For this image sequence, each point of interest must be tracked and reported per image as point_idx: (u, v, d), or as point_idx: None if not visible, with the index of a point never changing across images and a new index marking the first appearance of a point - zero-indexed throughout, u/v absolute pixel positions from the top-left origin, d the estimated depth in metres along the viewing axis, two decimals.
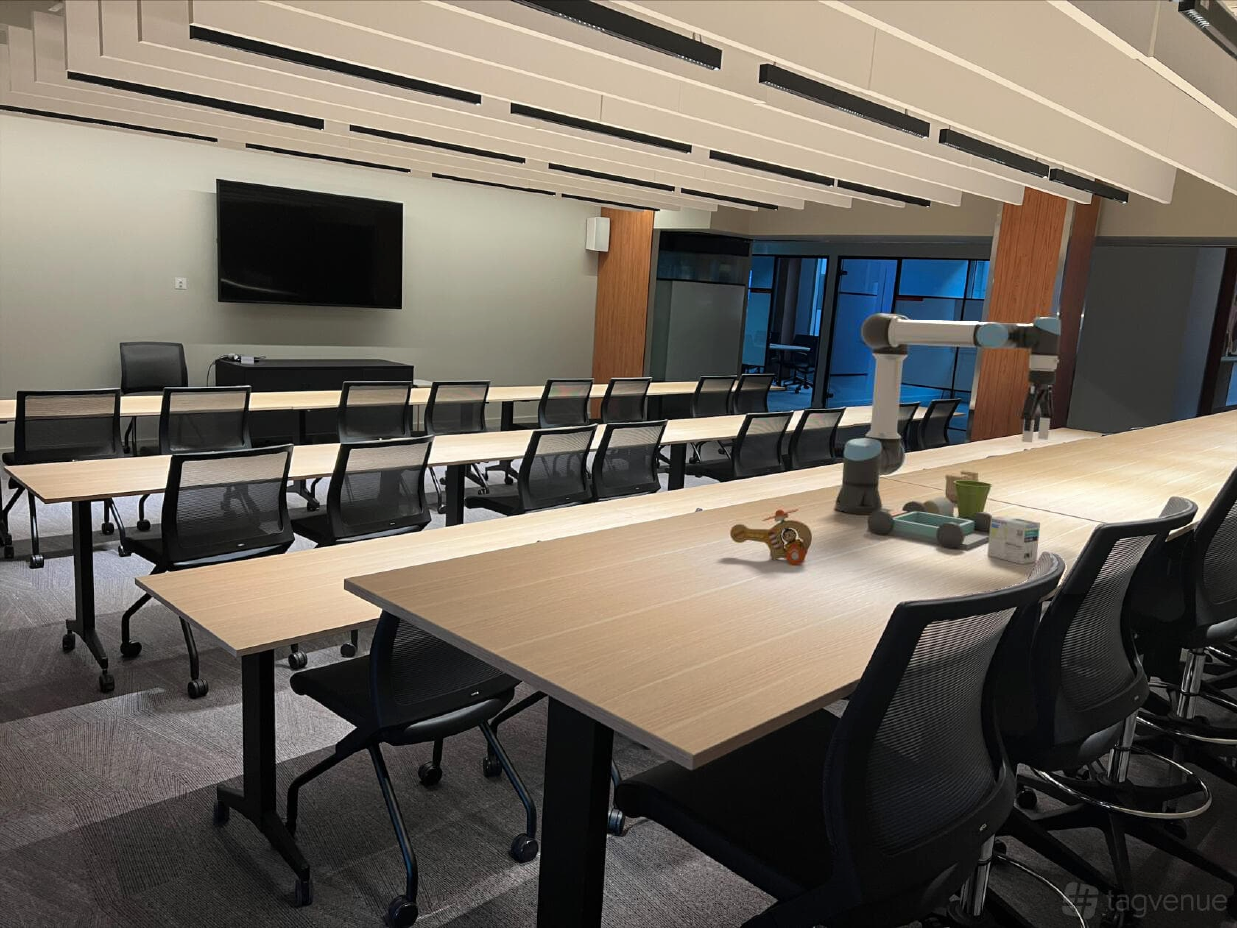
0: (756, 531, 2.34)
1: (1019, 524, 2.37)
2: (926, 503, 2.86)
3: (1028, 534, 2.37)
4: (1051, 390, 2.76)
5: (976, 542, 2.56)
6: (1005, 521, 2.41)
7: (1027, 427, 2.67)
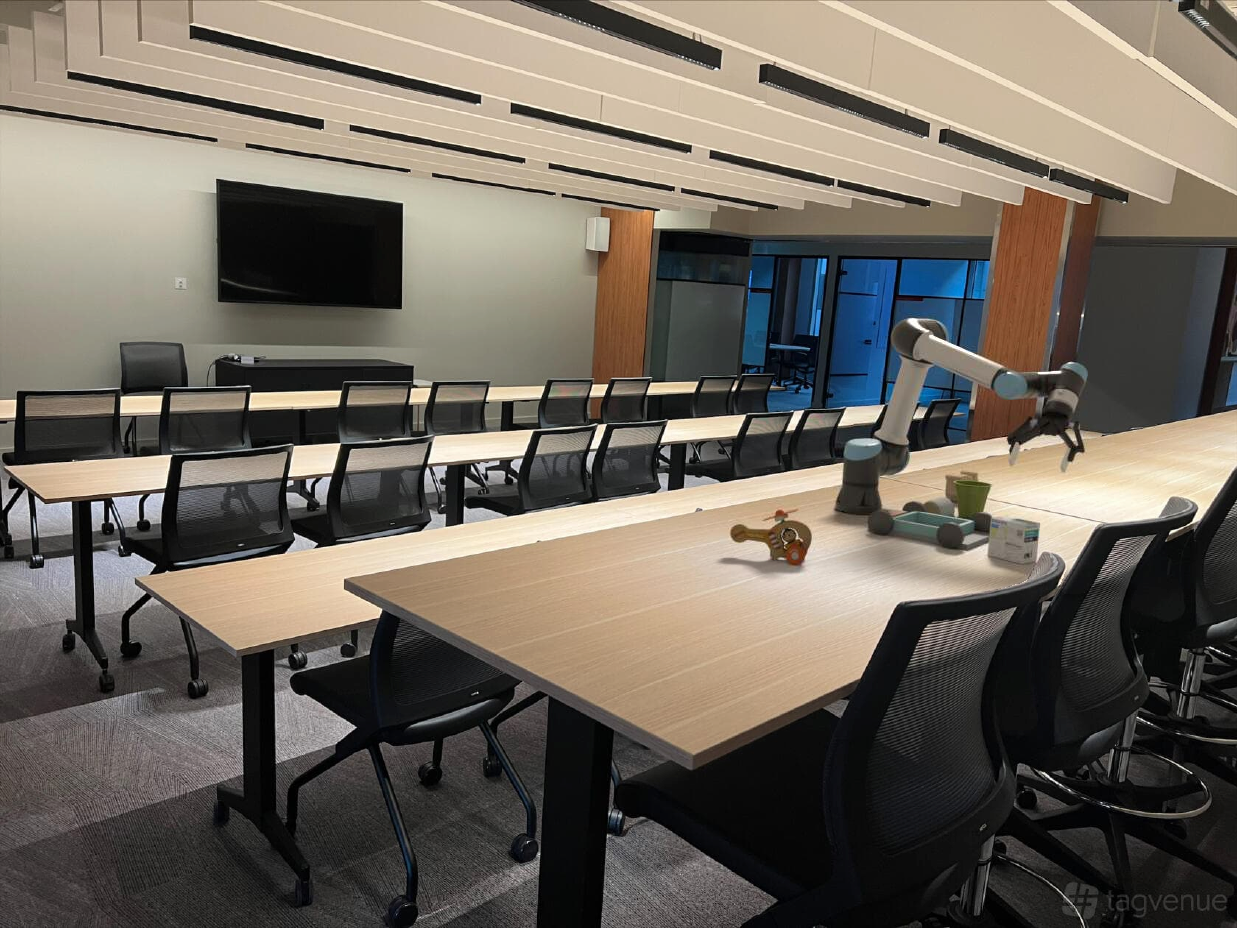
0: (756, 531, 2.34)
1: (1019, 524, 2.37)
2: (927, 503, 2.85)
3: (1028, 534, 2.37)
4: (1075, 424, 2.50)
5: (976, 542, 2.56)
6: (1005, 521, 2.41)
7: None
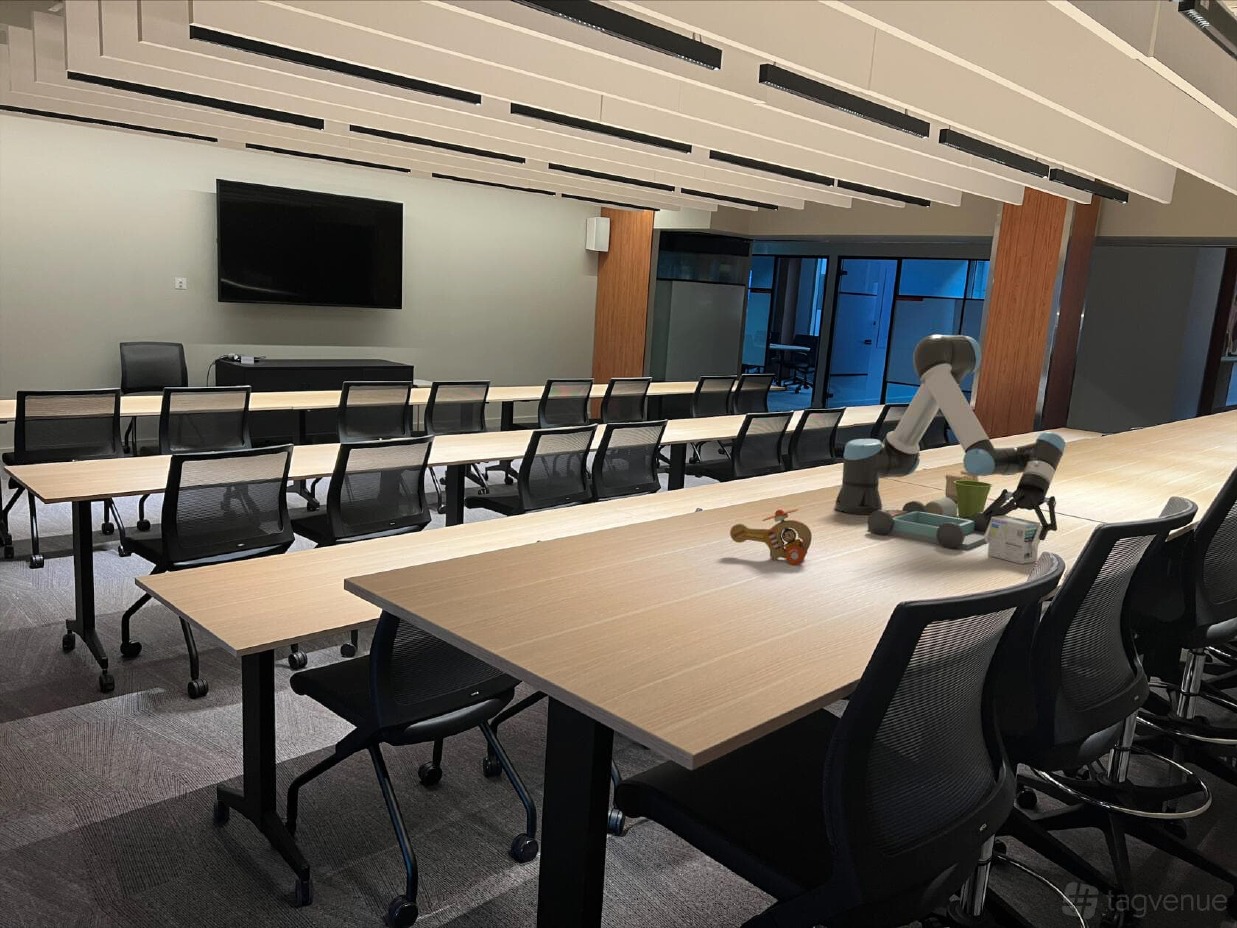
0: (756, 531, 2.34)
1: (1019, 524, 2.37)
2: (930, 504, 2.85)
3: (1028, 534, 2.37)
4: (1050, 499, 2.42)
5: (976, 542, 2.56)
6: (1005, 521, 2.41)
7: None
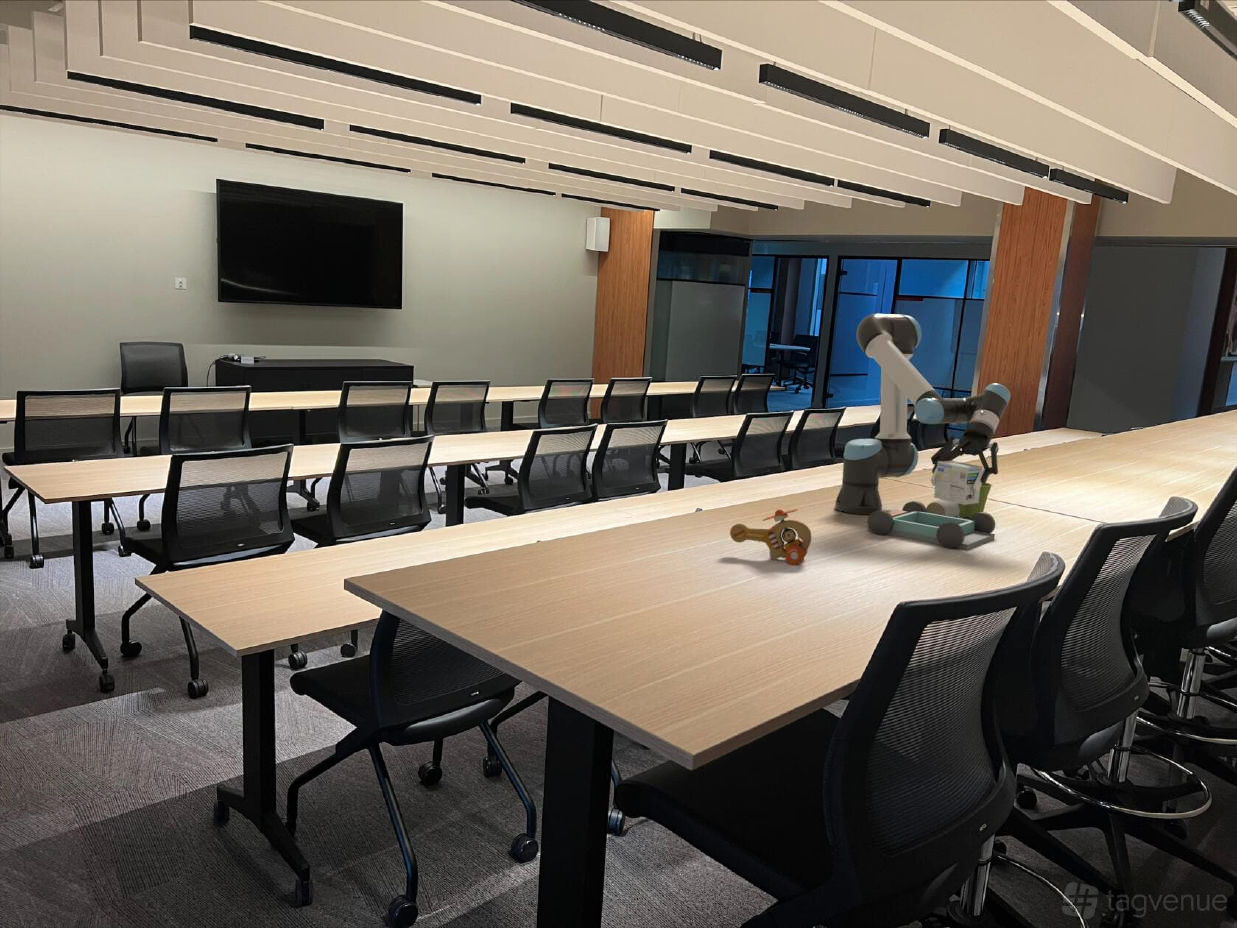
0: (756, 531, 2.34)
1: (962, 467, 2.53)
2: (932, 504, 2.84)
3: (970, 476, 2.53)
4: (993, 445, 2.58)
5: (976, 542, 2.56)
6: (950, 465, 2.57)
7: None
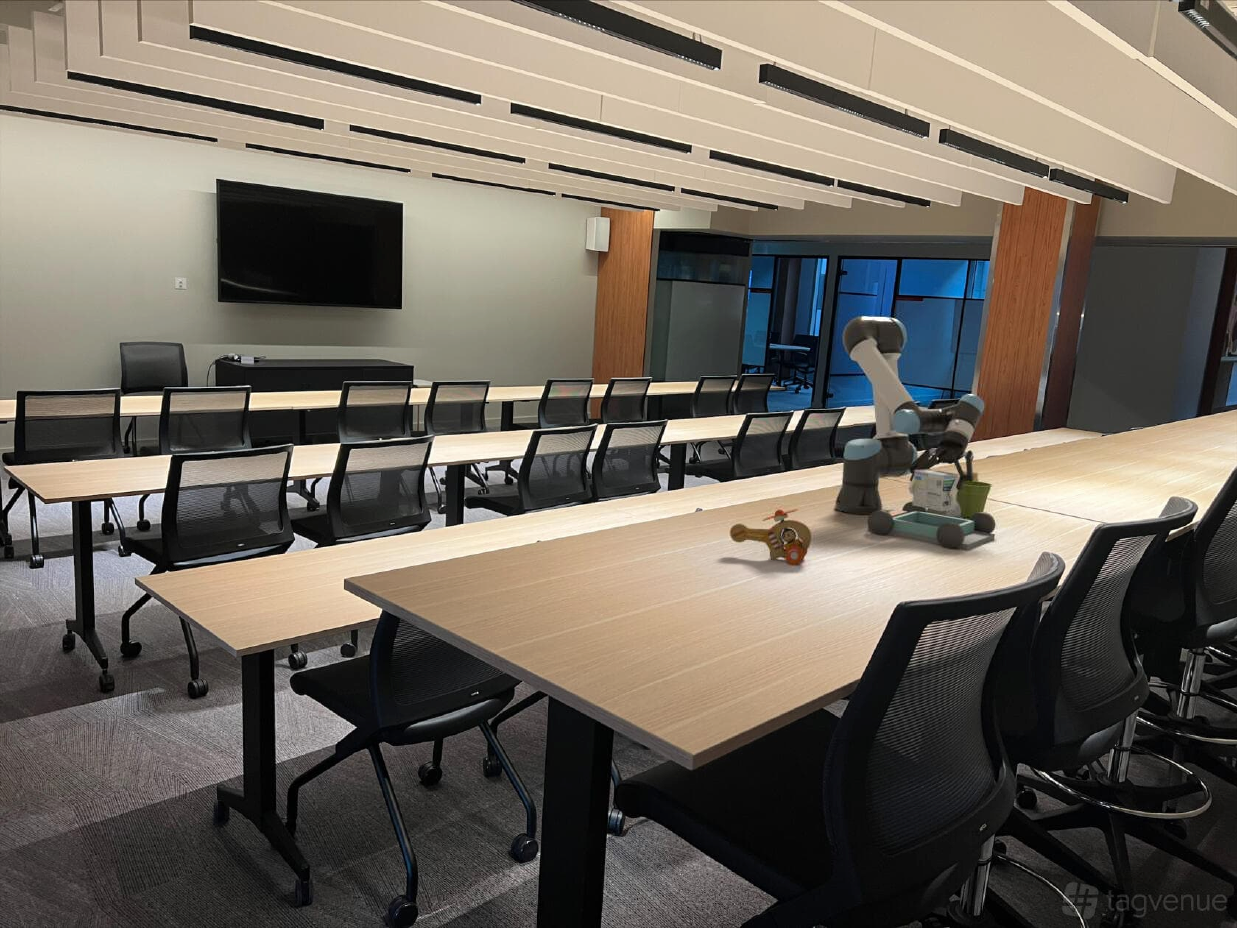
0: (756, 531, 2.34)
1: (938, 475, 2.61)
2: None
3: (946, 484, 2.61)
4: (968, 453, 2.66)
5: (976, 542, 2.56)
6: (926, 473, 2.65)
7: None
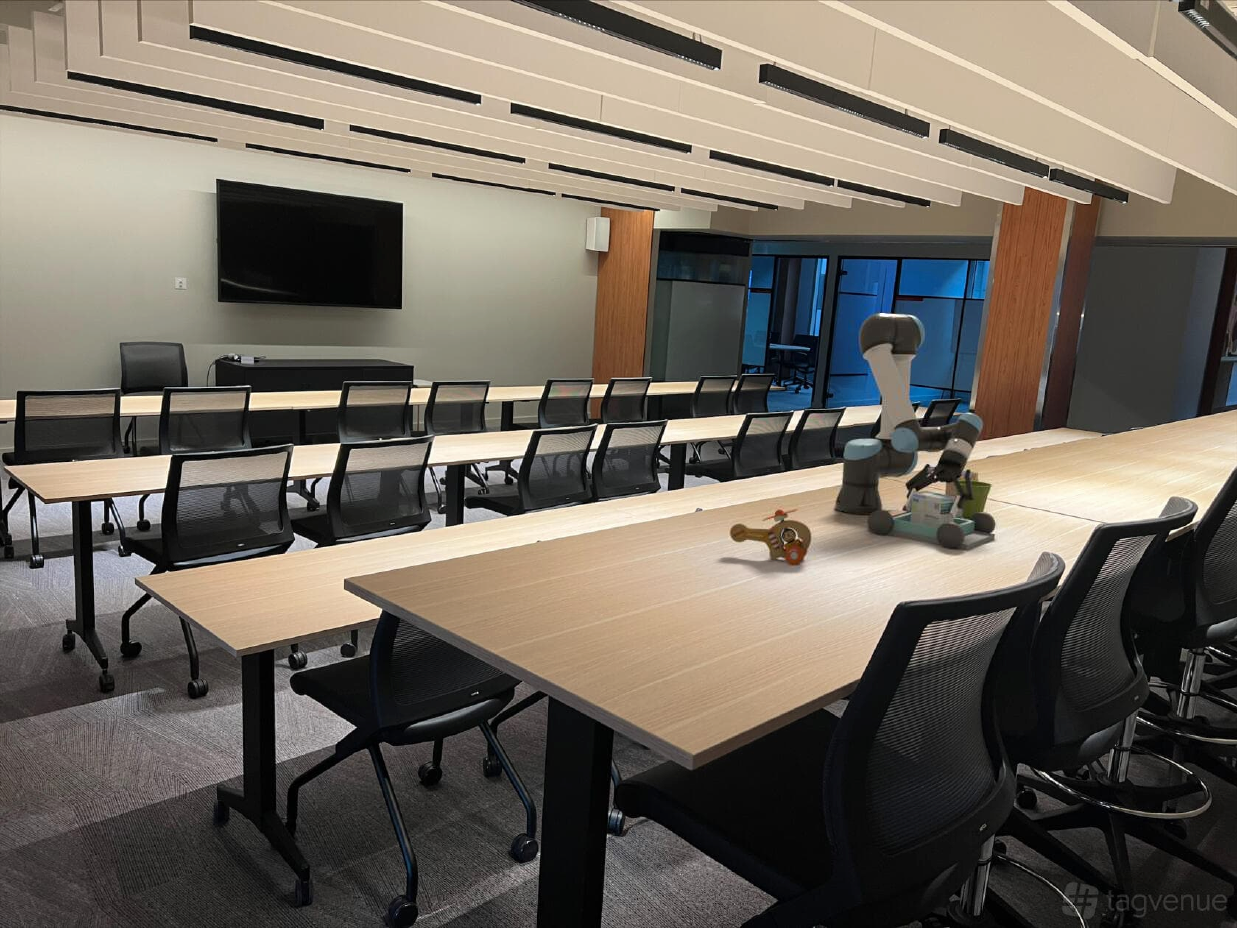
0: (756, 531, 2.34)
1: (936, 498, 2.62)
2: None
3: (944, 507, 2.62)
4: (966, 472, 2.67)
5: (976, 542, 2.56)
6: (924, 495, 2.66)
7: None
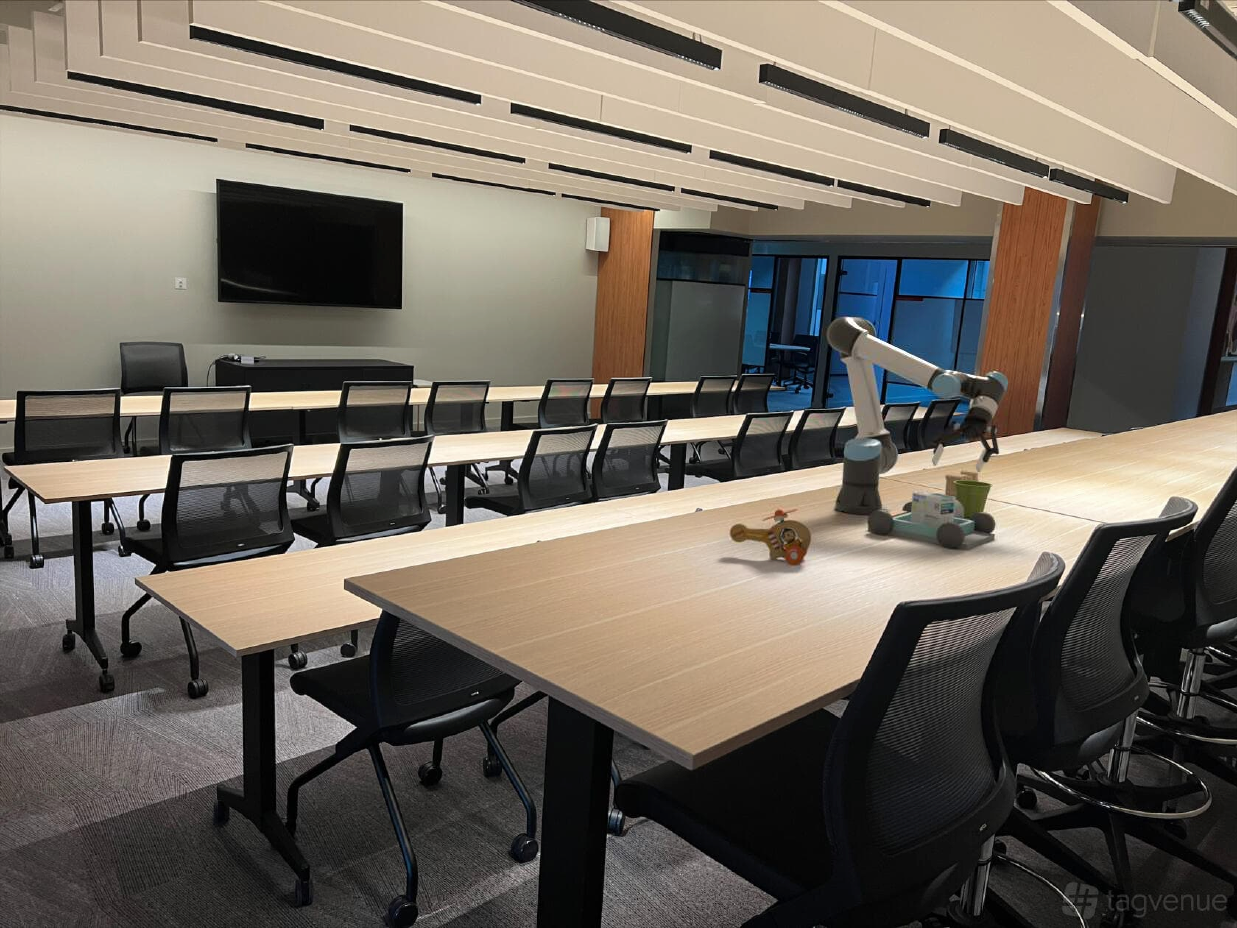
0: (756, 531, 2.34)
1: (936, 498, 2.62)
2: None
3: (944, 507, 2.62)
4: (992, 428, 2.75)
5: (976, 542, 2.56)
6: (924, 495, 2.66)
7: None
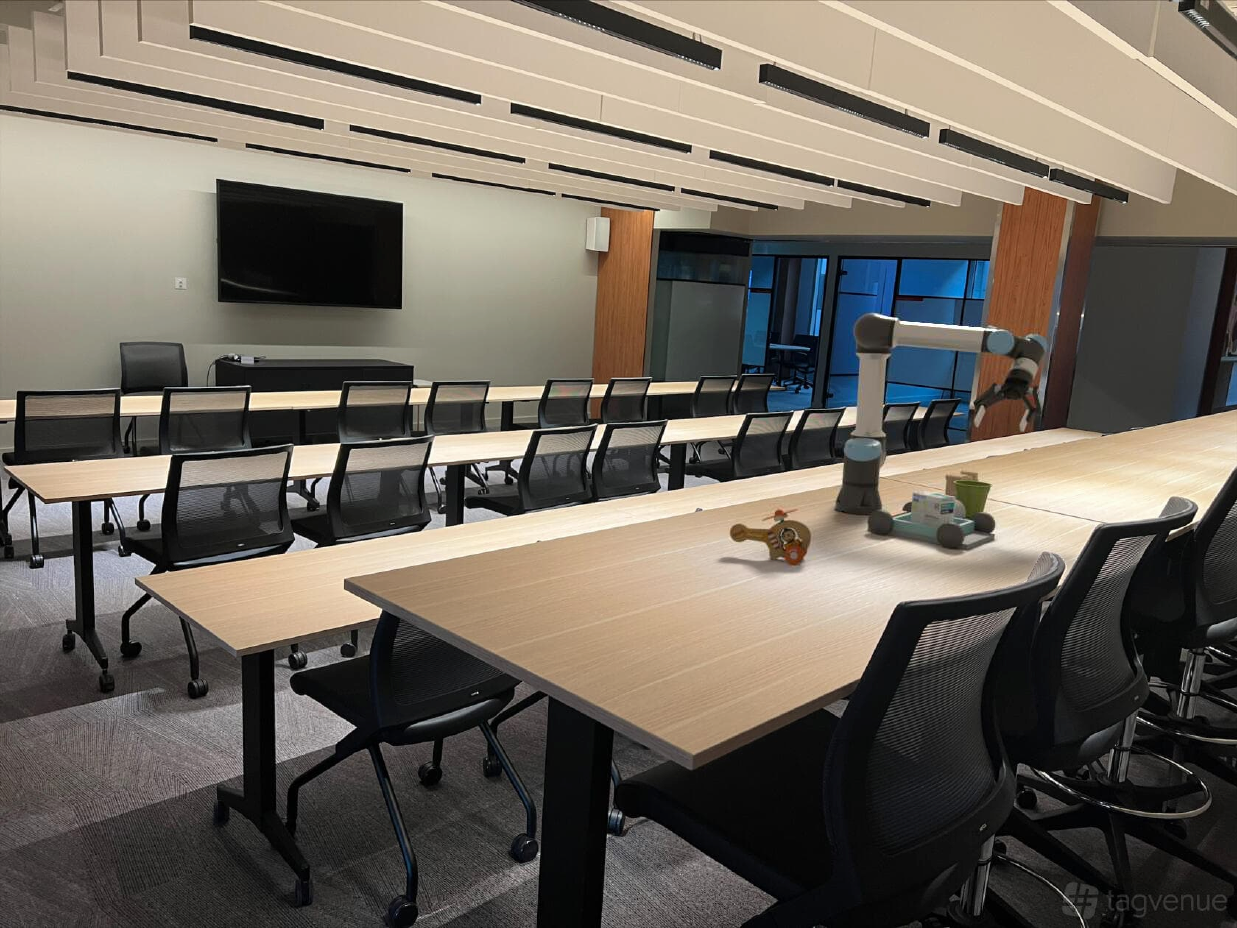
0: (756, 531, 2.34)
1: (936, 498, 2.62)
2: None
3: (944, 507, 2.62)
4: (1034, 389, 2.77)
5: (976, 542, 2.56)
6: (924, 495, 2.66)
7: None
